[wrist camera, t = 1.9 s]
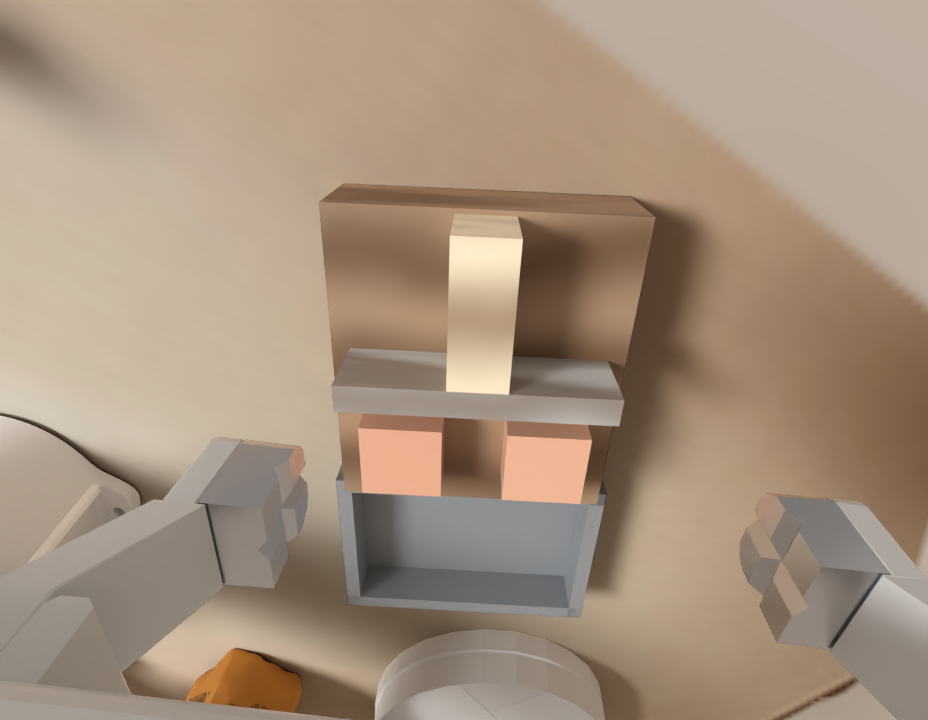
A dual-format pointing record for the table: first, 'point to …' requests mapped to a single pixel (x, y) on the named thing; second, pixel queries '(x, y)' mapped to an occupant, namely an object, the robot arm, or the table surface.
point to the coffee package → (248, 684)
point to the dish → (488, 680)
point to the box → (467, 552)
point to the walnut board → (427, 284)
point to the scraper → (480, 351)
